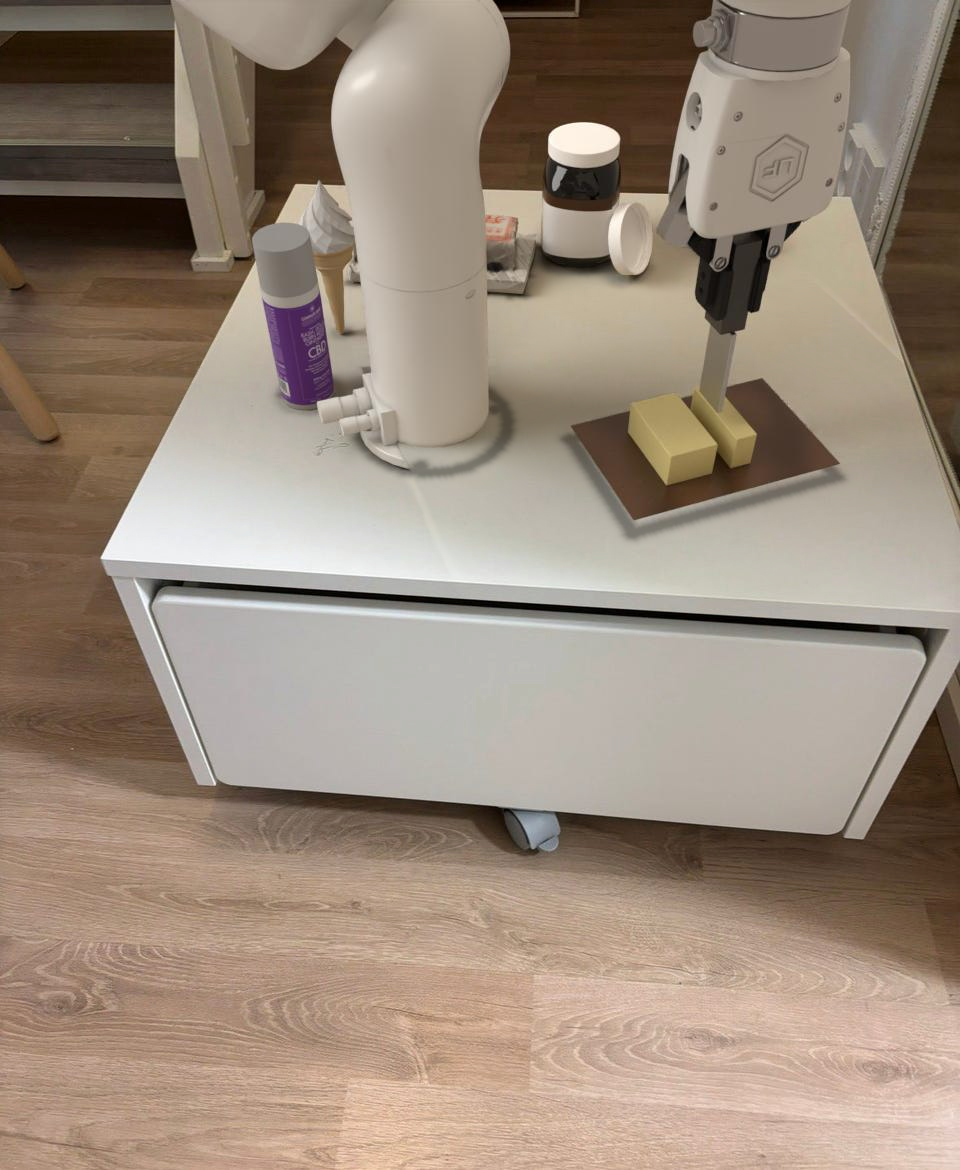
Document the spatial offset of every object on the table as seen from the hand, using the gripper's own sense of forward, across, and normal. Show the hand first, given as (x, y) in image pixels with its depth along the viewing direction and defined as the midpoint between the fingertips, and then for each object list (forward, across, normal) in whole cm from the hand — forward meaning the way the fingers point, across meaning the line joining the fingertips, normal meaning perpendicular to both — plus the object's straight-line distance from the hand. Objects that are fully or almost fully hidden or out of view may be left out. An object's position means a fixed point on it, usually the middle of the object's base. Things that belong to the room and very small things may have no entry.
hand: (727, 304), depth 73 cm
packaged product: (+14, -10, +36) cm, 40 cm away
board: (+14, 0, 0) cm, 14 cm away
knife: (+9, 0, 0) cm, 9 cm away
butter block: (+13, -3, 0) cm, 13 cm away
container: (+14, -28, +20) cm, 37 cm away
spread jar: (+15, +5, +32) cm, 36 cm away
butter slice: (+13, +2, 0) cm, 13 cm away
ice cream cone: (+14, -23, +28) cm, 39 cm away
